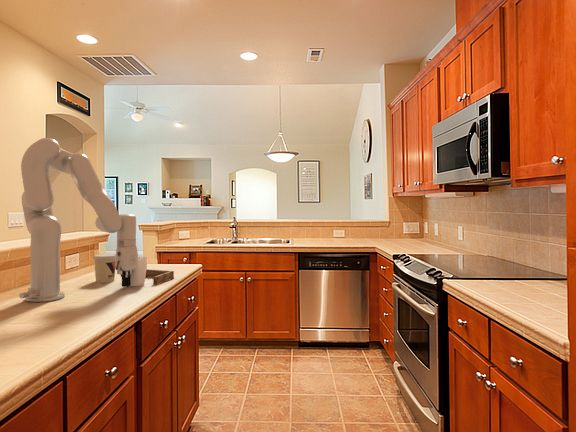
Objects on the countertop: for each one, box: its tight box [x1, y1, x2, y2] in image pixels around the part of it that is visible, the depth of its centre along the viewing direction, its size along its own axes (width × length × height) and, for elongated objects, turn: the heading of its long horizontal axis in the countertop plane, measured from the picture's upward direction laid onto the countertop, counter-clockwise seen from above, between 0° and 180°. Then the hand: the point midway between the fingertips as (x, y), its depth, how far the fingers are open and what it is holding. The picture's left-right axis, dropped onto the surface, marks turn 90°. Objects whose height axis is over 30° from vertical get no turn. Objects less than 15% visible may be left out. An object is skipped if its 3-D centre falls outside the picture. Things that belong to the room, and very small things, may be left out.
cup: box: [130, 256, 148, 287], centre depth 176 cm, size 9×9×12 cm
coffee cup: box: [93, 253, 116, 284], centre depth 183 cm, size 9×9×12 cm
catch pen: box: [145, 268, 175, 286], centre depth 187 cm, size 16×16×4 cm
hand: (126, 286), depth 169 cm, fingers closed
